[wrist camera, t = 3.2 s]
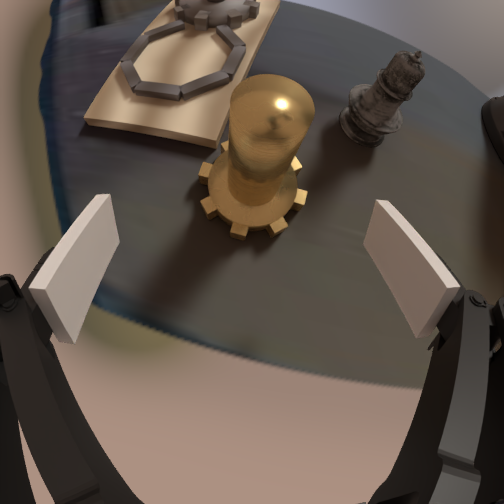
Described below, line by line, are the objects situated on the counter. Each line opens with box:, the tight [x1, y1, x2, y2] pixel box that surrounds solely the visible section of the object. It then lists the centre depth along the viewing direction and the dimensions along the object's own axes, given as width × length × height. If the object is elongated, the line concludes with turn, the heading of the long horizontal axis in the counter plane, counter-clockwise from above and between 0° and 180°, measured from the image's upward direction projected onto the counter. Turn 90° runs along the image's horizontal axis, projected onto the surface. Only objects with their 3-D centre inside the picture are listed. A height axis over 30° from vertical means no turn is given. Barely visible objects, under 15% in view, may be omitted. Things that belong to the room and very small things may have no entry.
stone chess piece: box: [340, 51, 425, 147], centre depth 20 cm, size 6×6×12 cm
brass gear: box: [198, 74, 315, 241], centre depth 18 cm, size 9×9×12 cm
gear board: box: [84, 0, 280, 149], centre depth 24 cm, size 14×26×4 cm, turn 165°
